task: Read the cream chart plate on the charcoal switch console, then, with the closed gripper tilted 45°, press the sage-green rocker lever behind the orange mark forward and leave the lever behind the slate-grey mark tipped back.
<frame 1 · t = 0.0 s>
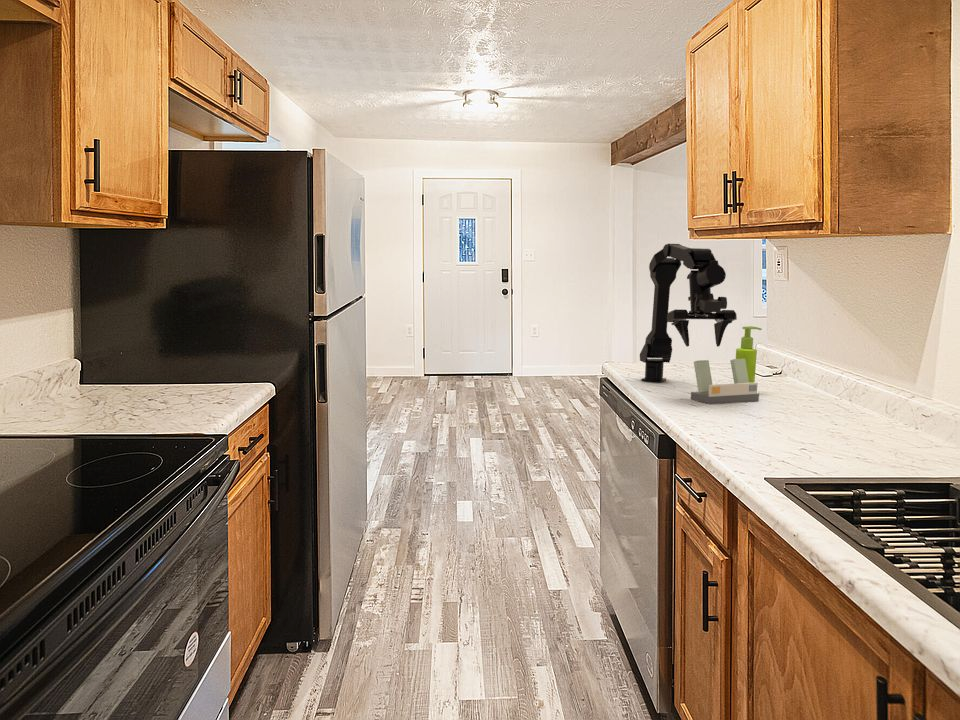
hand: (703, 346, 229), 15 cm above the worktop, tool pointing down, fingers open, 9 cm apart
hold switch: (740, 374, 236), point 7 cm above the worktop, hinge at -20.0°
soap dispenser: (745, 393, 247), on the worktop
switch console: (724, 399, 233), on the worktop
flip switch: (703, 376, 231), point 7 cm above the worktop, hinge at -20.0°
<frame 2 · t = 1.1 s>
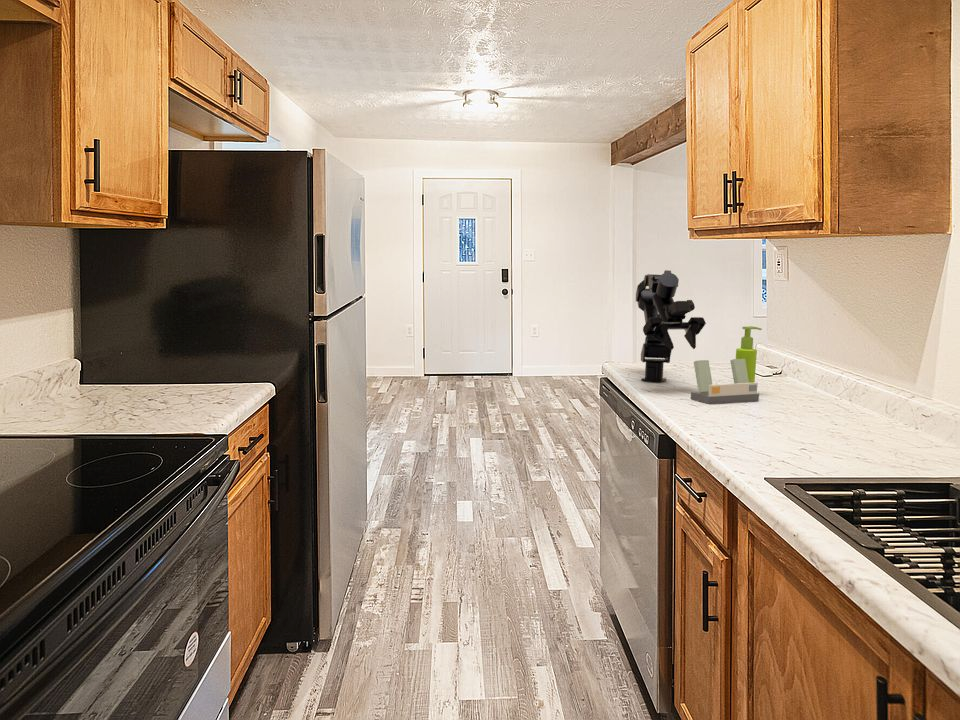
hand: (683, 348, 241), 13 cm above the worktop, tool tilted 45°, fingers open, 7 cm apart
nothing on the worktop moved.
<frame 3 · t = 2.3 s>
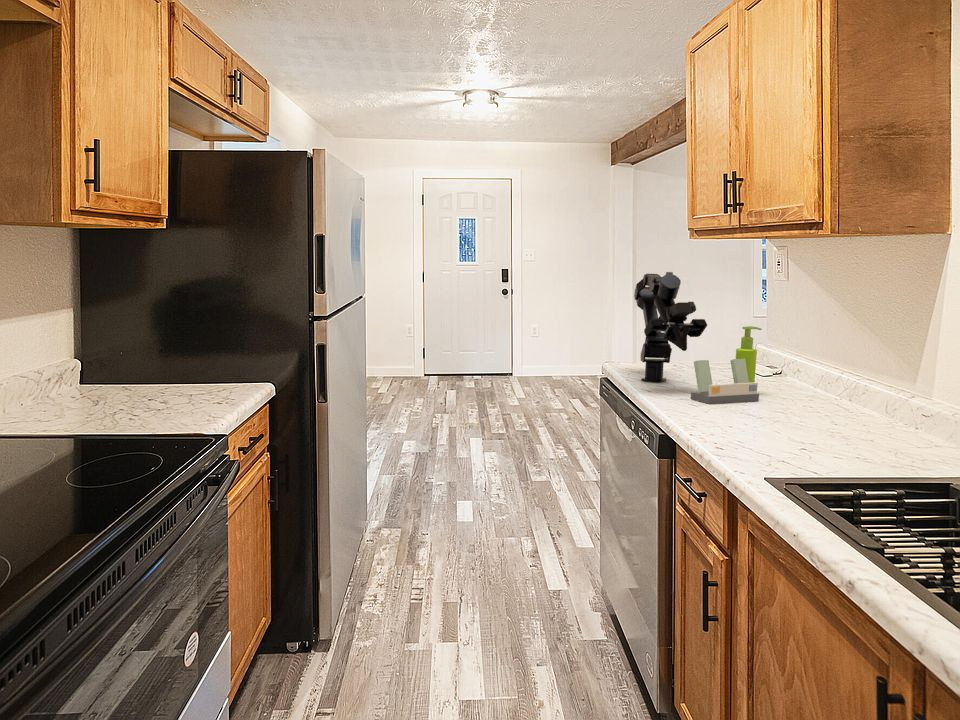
hand: (685, 350, 240), 13 cm above the worktop, tool tilted 45°, fingers closed
nothing on the worktop moved.
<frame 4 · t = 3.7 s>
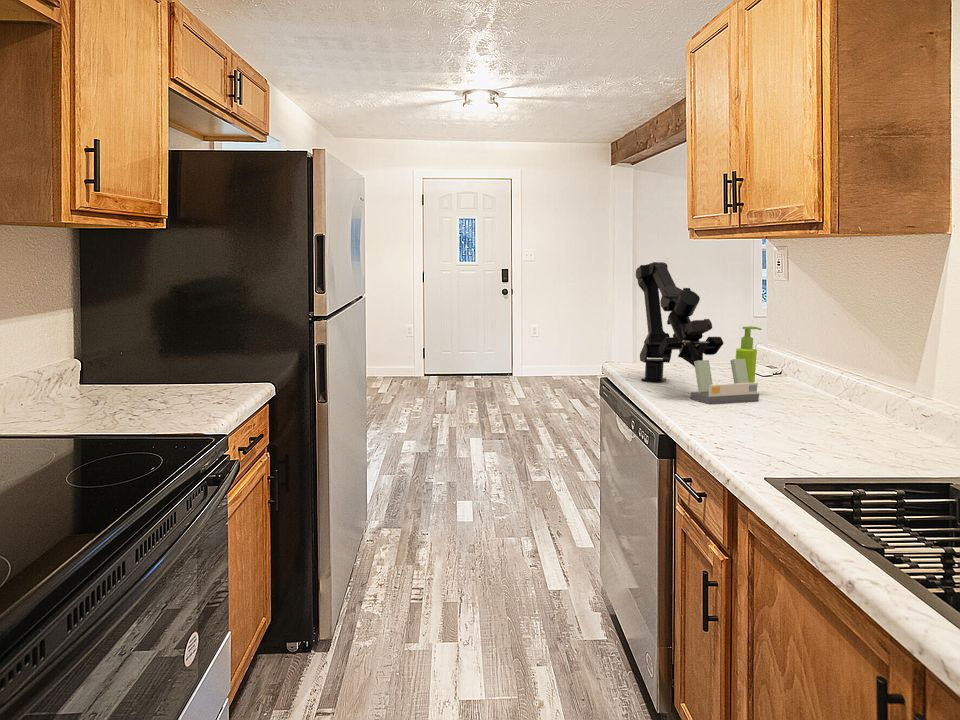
hand: (701, 369, 233), 9 cm above the worktop, tool tilted 45°, fingers closed, pressing on flip switch
flip switch: (703, 376, 231), point 7 cm above the worktop, hinge at -19.0°, touching gripper
everything else where it was.
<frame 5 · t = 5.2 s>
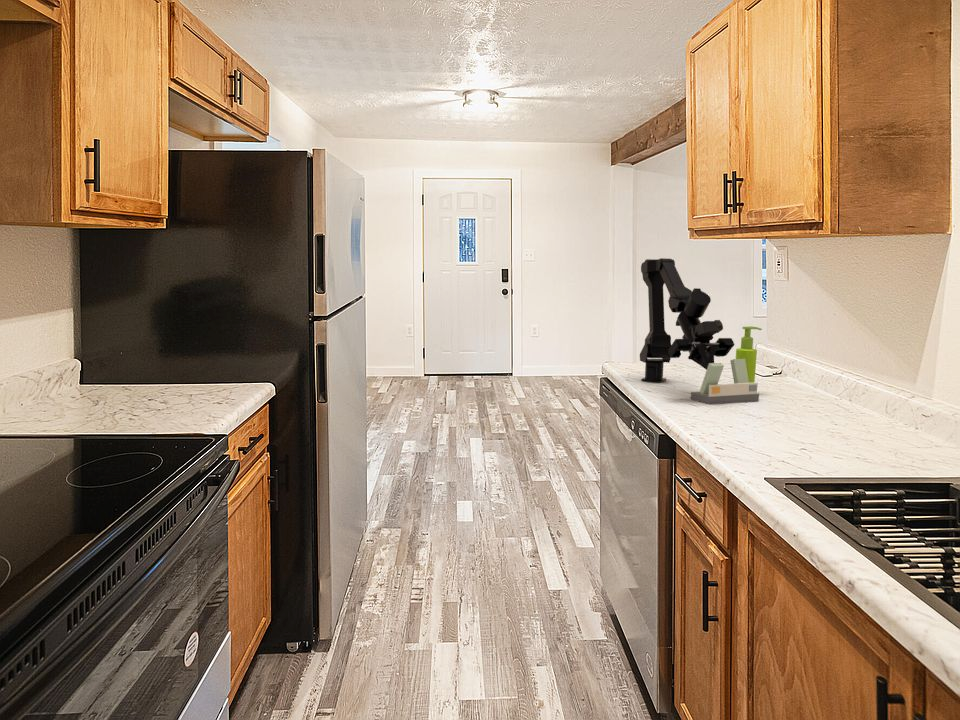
hand: (712, 371, 228), 9 cm above the worktop, tool tilted 45°, fingers closed, pressing on flip switch
flip switch: (711, 378, 228), point 7 cm above the worktop, hinge at 21.1°, touching gripper
everything else where it was.
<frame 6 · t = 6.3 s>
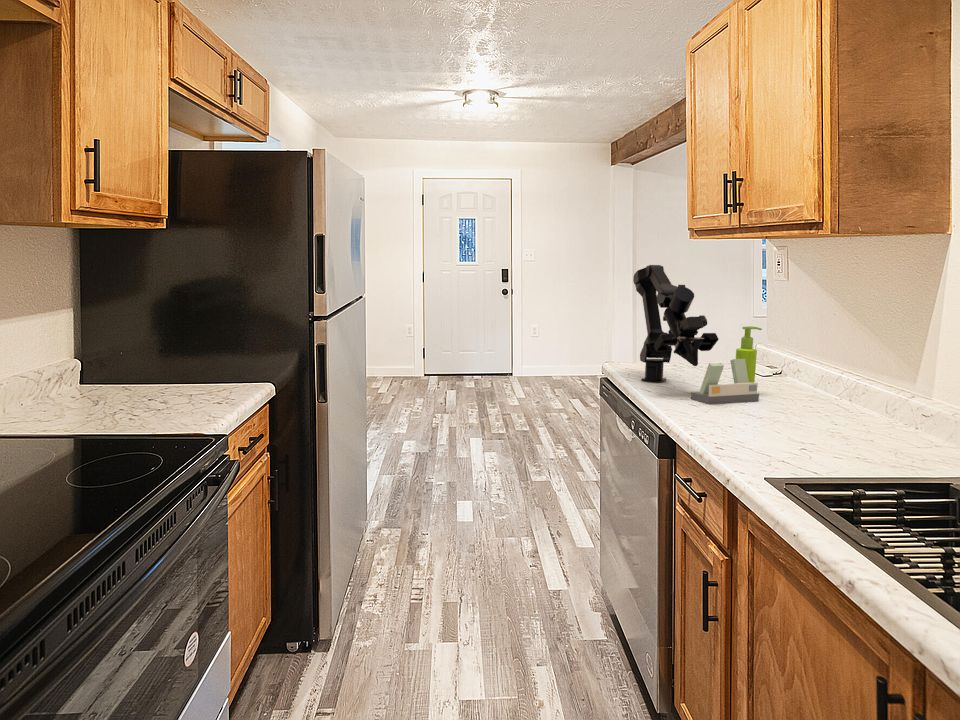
hand: (696, 365, 235), 9 cm above the worktop, tool tilted 45°, fingers closed
flip switch: (711, 378, 228), point 7 cm above the worktop, hinge at 21.2°
everything else where it was.
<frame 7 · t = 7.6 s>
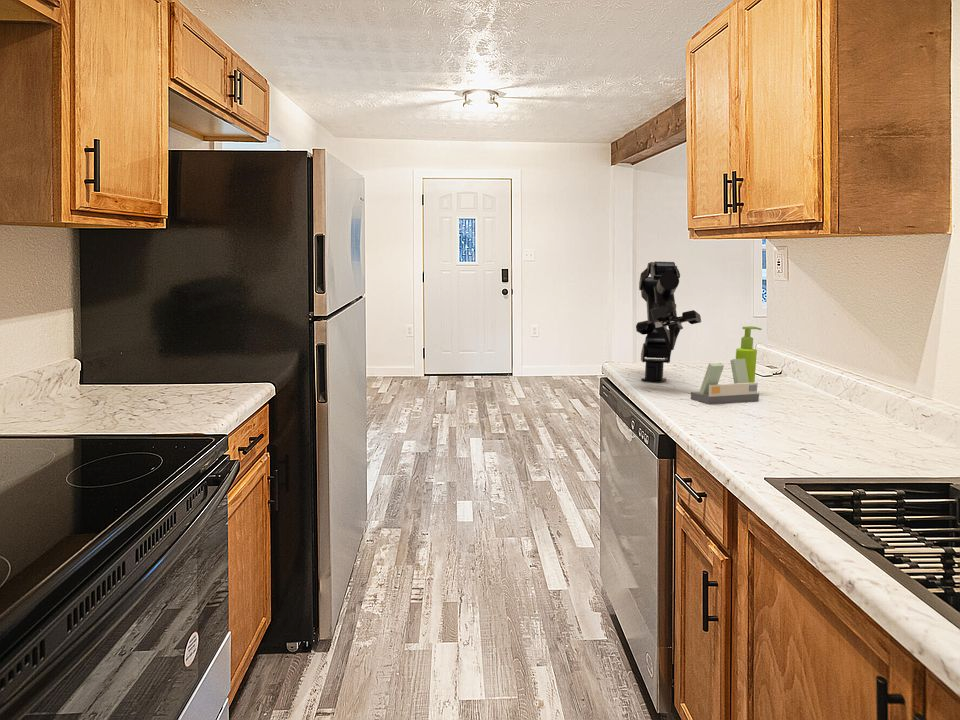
hand: (671, 349, 245), 12 cm above the worktop, tool tilted 25°, fingers closed
nothing on the worktop moved.
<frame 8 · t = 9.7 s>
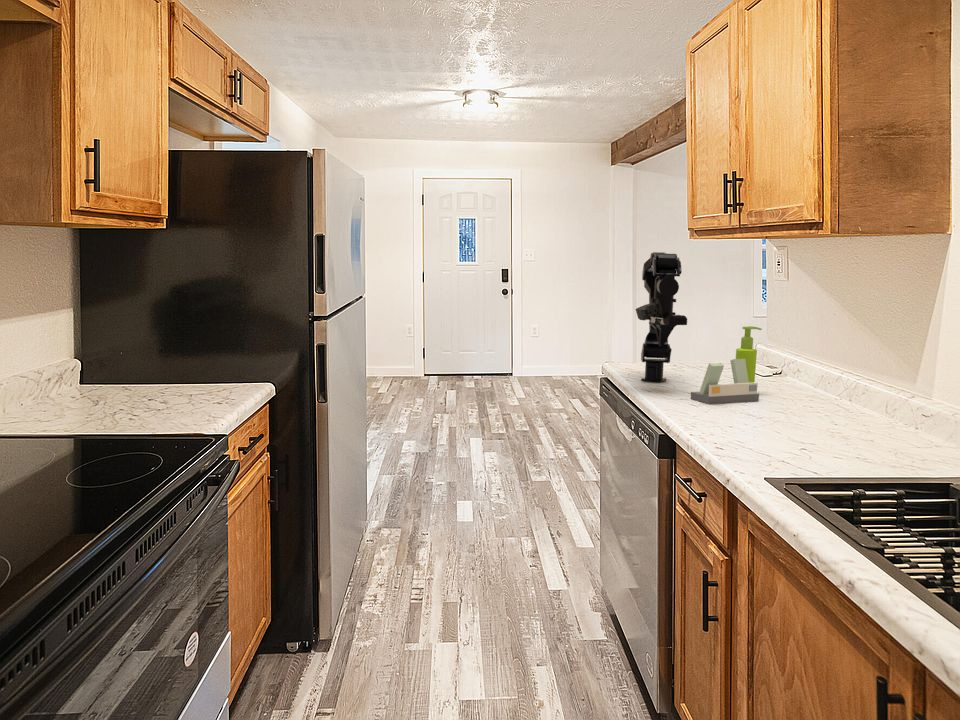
hand: (661, 346, 249), 13 cm above the worktop, tool pointing down, fingers closed
nothing on the worktop moved.
at the end: flip switch at +21° (first picture: -20°); hold switch at -20° (first picture: -20°) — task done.
